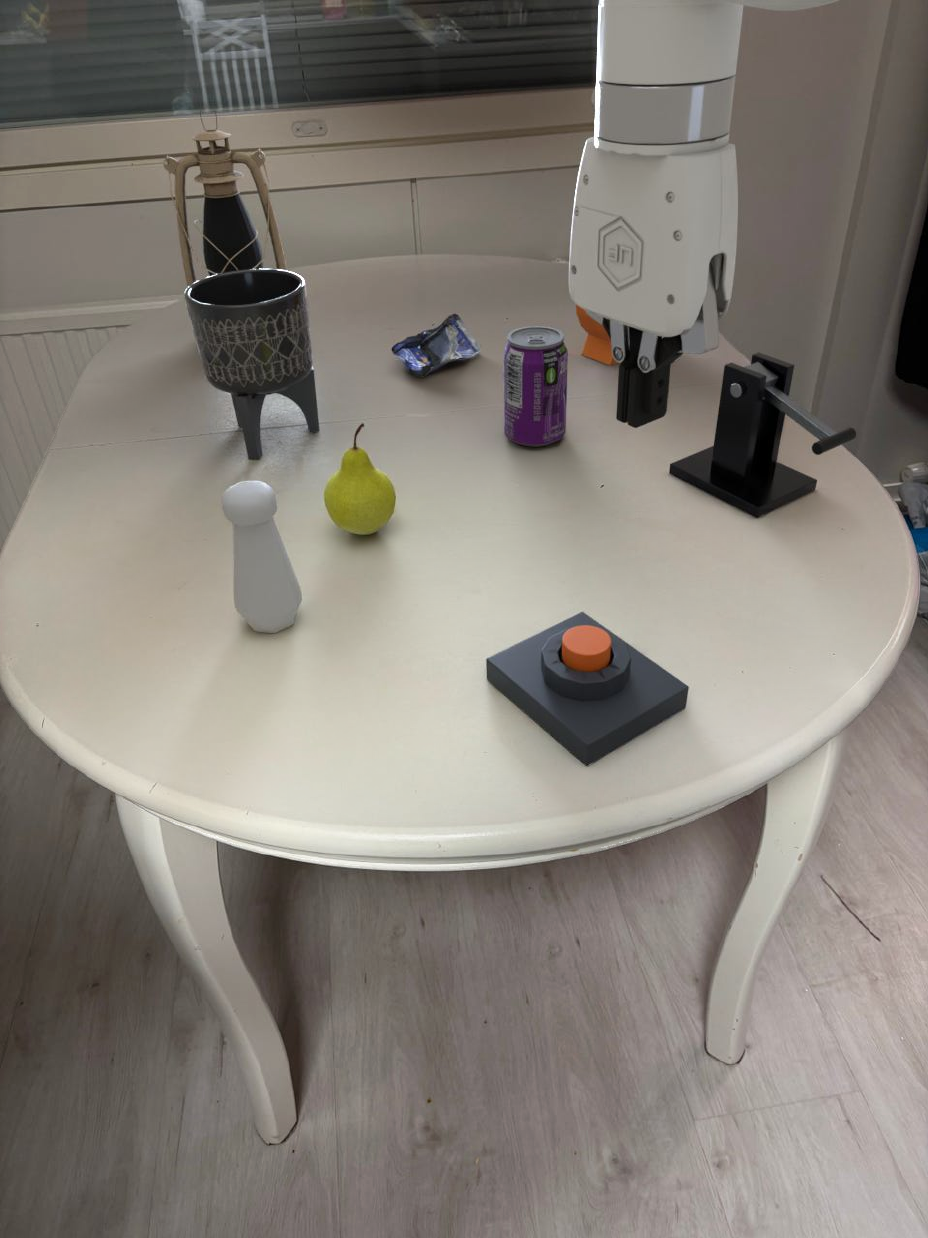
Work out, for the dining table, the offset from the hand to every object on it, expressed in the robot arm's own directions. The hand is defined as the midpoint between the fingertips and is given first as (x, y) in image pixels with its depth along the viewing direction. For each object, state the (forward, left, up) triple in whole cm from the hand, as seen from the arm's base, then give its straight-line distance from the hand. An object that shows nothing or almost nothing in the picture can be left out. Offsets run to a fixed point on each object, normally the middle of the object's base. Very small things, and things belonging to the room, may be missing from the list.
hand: (641, 418), depth 63 cm
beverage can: (+35, -19, -21) cm, 46 cm away
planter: (+55, +5, -21) cm, 59 cm away
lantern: (+90, -8, -21) cm, 93 cm away
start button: (-2, +6, -17) cm, 18 cm away
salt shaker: (+22, +21, -21) cm, 37 cm away
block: (-2, +6, -21) cm, 22 cm away
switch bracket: (+13, -29, -21) cm, 39 cm away
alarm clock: (+48, -45, -21) cm, 70 cm away
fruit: (+30, +7, -21) cm, 38 cm away
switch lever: (+9, -29, -12) cm, 33 cm away
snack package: (+61, -23, -21) cm, 69 cm away
